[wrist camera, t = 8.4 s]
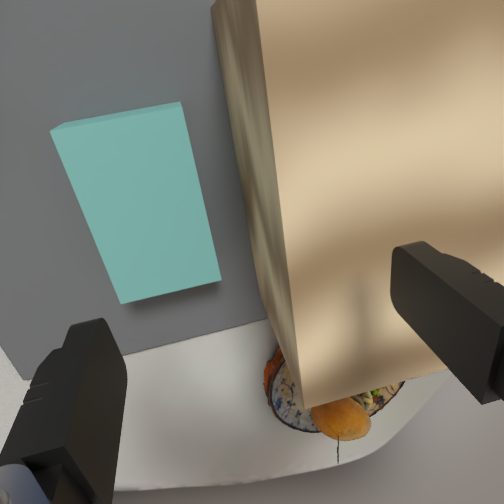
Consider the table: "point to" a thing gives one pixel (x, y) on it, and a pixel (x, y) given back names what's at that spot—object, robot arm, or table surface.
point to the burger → (326, 415)
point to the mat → (59, 186)
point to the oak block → (362, 167)
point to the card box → (141, 199)
